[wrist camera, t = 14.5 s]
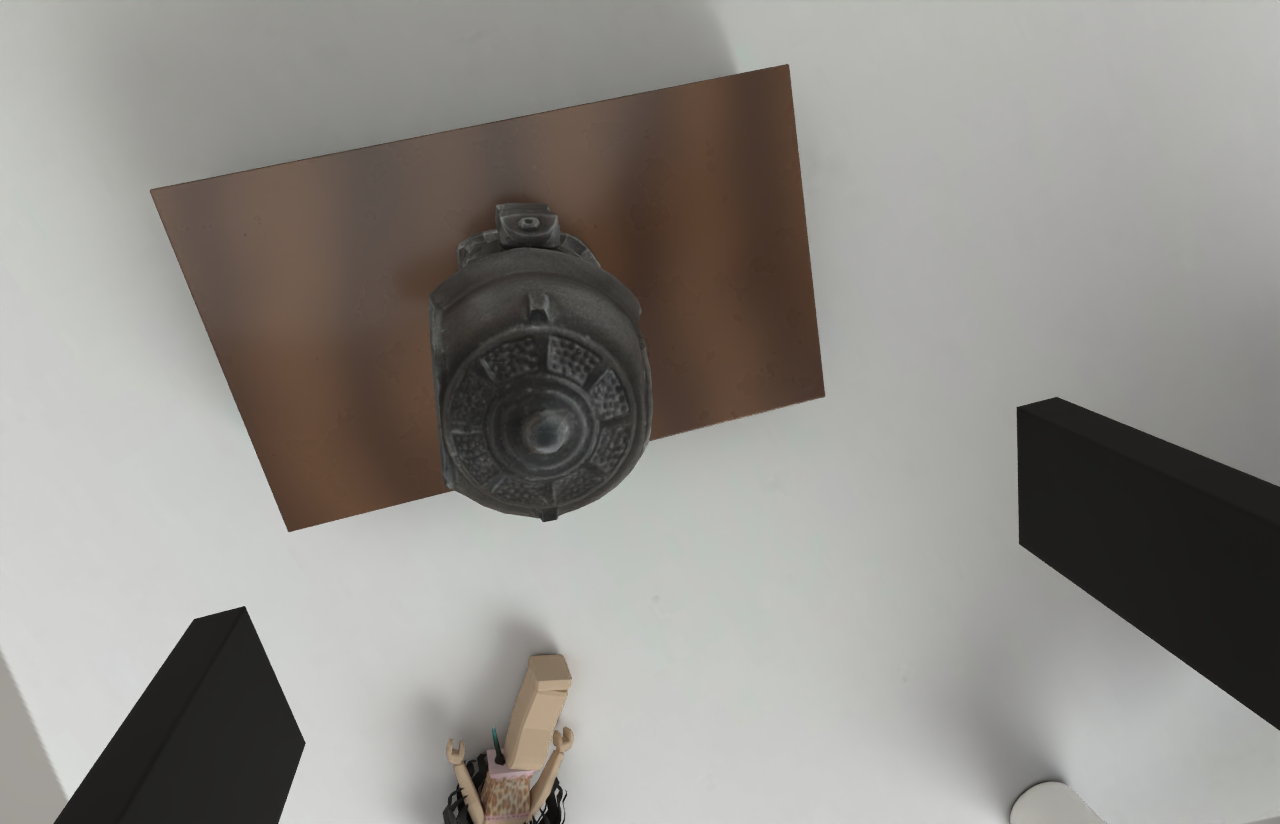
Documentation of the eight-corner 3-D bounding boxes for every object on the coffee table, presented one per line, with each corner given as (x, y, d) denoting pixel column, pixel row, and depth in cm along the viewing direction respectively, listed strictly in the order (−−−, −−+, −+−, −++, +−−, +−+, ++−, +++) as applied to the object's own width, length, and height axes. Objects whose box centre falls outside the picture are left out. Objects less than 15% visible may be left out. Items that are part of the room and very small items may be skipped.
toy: (601, 403, 32) (687, 593, 18) (461, 410, 30) (435, 616, 17) (600, 198, 29) (700, 228, 15) (447, 197, 28) (400, 229, 14)
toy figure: (451, 648, 41) (430, 866, 45) (461, 722, 35) (435, 966, 39) (575, 642, 43) (546, 850, 47) (604, 710, 38) (567, 941, 41)
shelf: (741, 80, 34) (789, 63, 29) (778, 364, 39) (825, 397, 33) (209, 185, 32) (148, 189, 26) (319, 476, 36) (287, 532, 31)
